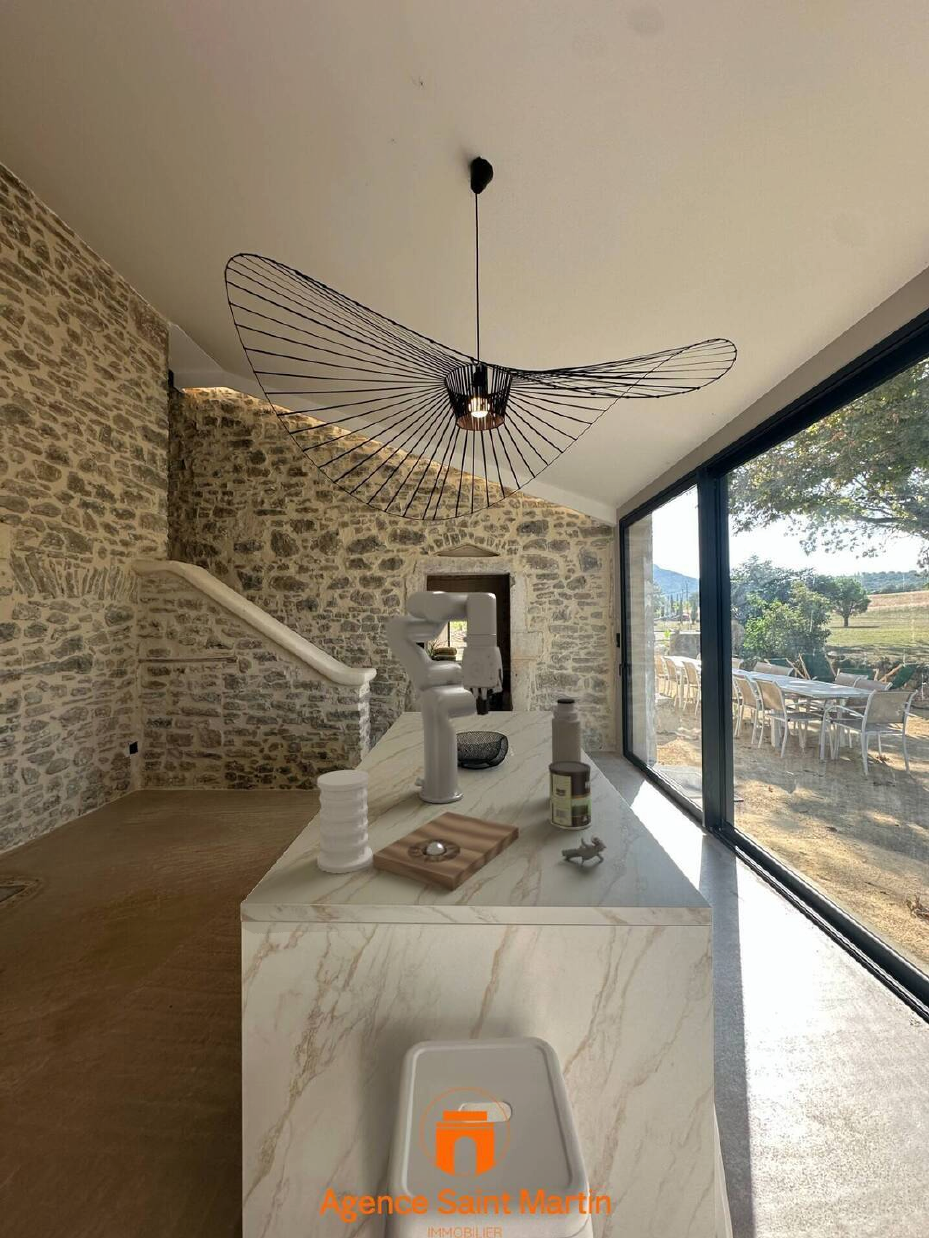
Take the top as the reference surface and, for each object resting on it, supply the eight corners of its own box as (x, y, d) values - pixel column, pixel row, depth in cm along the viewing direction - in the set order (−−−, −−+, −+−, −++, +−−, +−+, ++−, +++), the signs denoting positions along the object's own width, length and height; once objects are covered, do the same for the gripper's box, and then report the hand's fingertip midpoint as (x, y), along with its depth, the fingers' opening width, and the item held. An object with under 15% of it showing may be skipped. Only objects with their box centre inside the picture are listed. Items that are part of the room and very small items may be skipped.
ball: (420, 848, 114) (432, 836, 117) (424, 863, 115) (435, 851, 118) (435, 853, 112) (446, 840, 115) (439, 869, 113) (450, 856, 116)
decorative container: (326, 849, 122) (324, 769, 122) (377, 848, 122) (375, 769, 122) (309, 873, 111) (308, 785, 110) (366, 873, 110) (364, 785, 110)
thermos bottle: (555, 792, 158) (554, 696, 158) (583, 794, 155) (581, 697, 155) (550, 801, 150) (549, 700, 150) (579, 804, 148) (578, 701, 147)
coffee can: (590, 815, 140) (590, 761, 139) (592, 831, 129) (591, 772, 129) (550, 813, 142) (549, 759, 142) (548, 828, 132) (547, 770, 131)
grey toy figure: (574, 850, 120) (612, 843, 116) (576, 878, 116) (615, 872, 112) (552, 831, 115) (591, 824, 110) (552, 860, 111) (593, 853, 106)
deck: (447, 821, 137) (447, 811, 137) (518, 837, 127) (518, 827, 126) (373, 866, 113) (372, 854, 113) (453, 890, 103) (452, 877, 103)
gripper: (448, 642, 137) (449, 714, 138) (500, 643, 129) (502, 719, 130) (464, 640, 144) (465, 709, 144) (515, 641, 136) (516, 714, 136)
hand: (482, 714), depth 137 cm, fingers closed
